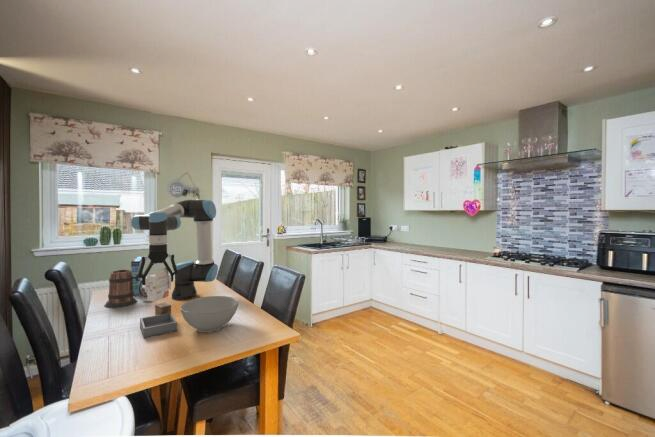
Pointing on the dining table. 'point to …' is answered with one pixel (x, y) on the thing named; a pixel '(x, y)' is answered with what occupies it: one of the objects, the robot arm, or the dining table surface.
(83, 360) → the dining table surface
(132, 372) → the dining table surface
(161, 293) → the ink cartridge box
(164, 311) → the walnut block
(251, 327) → the dining table surface
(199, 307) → the decorative bowl
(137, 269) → the gum box
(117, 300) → the tankard
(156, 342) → the dining table surface
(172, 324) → the bin
